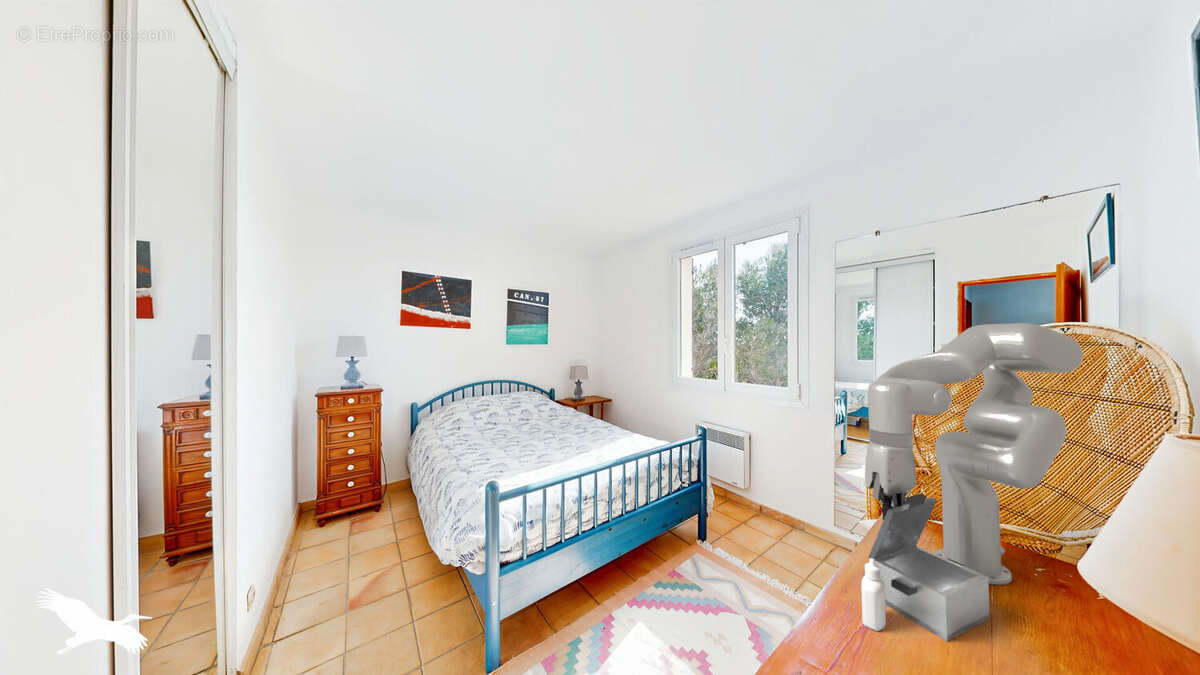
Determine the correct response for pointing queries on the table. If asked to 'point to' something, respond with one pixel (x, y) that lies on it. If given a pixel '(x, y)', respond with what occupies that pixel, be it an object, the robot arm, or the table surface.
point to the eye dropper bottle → (873, 597)
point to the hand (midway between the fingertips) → (893, 522)
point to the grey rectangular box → (934, 591)
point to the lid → (902, 526)
